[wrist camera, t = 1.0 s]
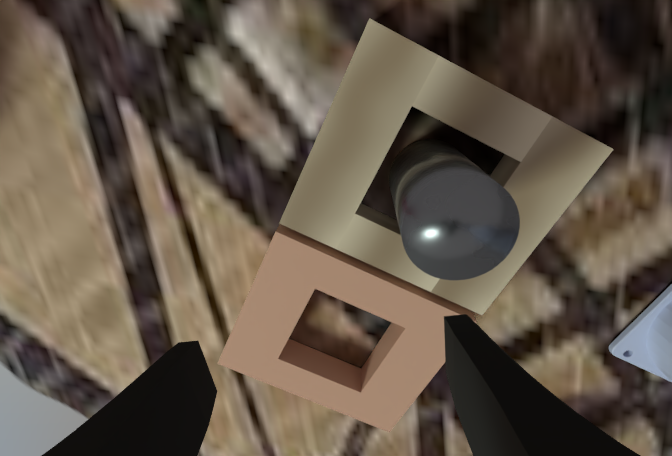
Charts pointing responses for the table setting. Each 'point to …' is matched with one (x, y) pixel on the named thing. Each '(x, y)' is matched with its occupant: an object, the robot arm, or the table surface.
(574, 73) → the table surface
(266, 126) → the table surface
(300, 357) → the socket block
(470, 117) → the pin mount
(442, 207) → the pin
